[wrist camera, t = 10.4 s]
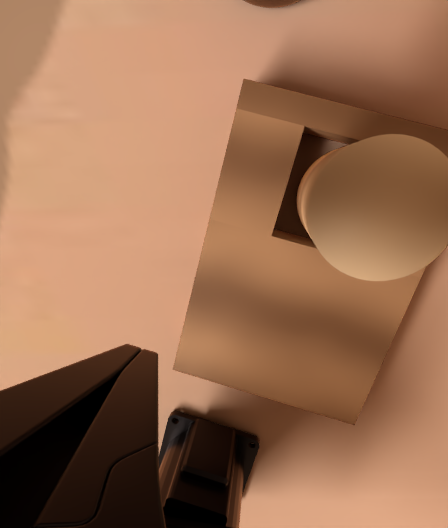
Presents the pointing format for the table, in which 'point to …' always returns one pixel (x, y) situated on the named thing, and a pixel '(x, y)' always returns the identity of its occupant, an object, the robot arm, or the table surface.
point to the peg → (377, 206)
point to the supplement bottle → (272, 3)
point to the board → (288, 269)
